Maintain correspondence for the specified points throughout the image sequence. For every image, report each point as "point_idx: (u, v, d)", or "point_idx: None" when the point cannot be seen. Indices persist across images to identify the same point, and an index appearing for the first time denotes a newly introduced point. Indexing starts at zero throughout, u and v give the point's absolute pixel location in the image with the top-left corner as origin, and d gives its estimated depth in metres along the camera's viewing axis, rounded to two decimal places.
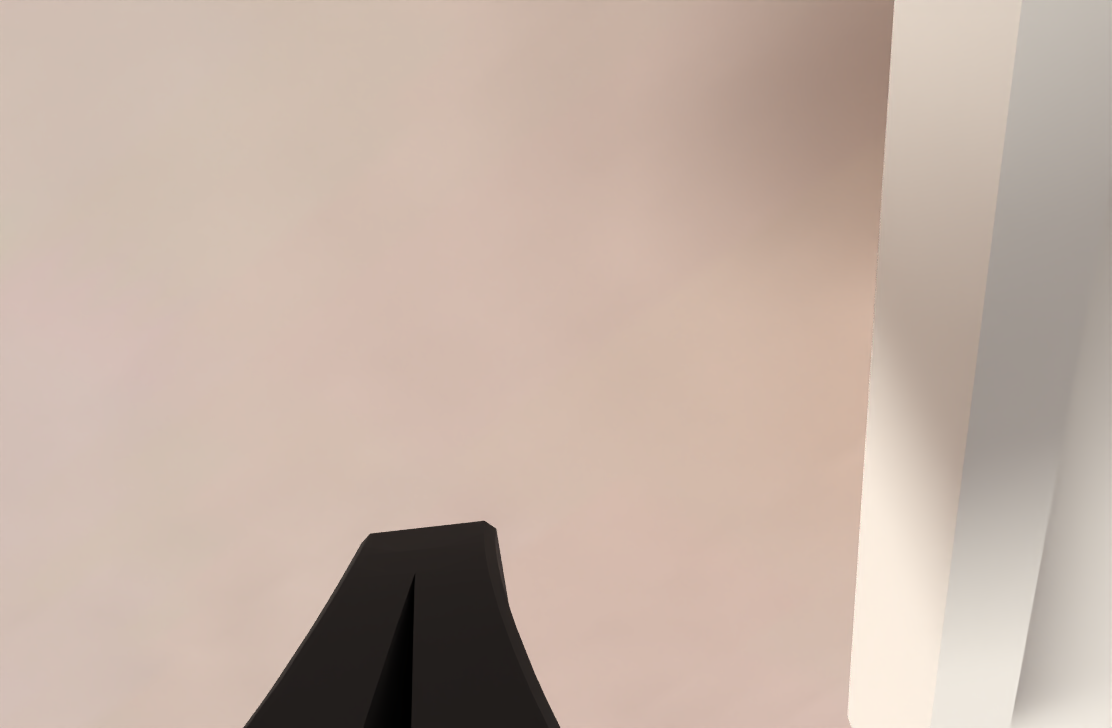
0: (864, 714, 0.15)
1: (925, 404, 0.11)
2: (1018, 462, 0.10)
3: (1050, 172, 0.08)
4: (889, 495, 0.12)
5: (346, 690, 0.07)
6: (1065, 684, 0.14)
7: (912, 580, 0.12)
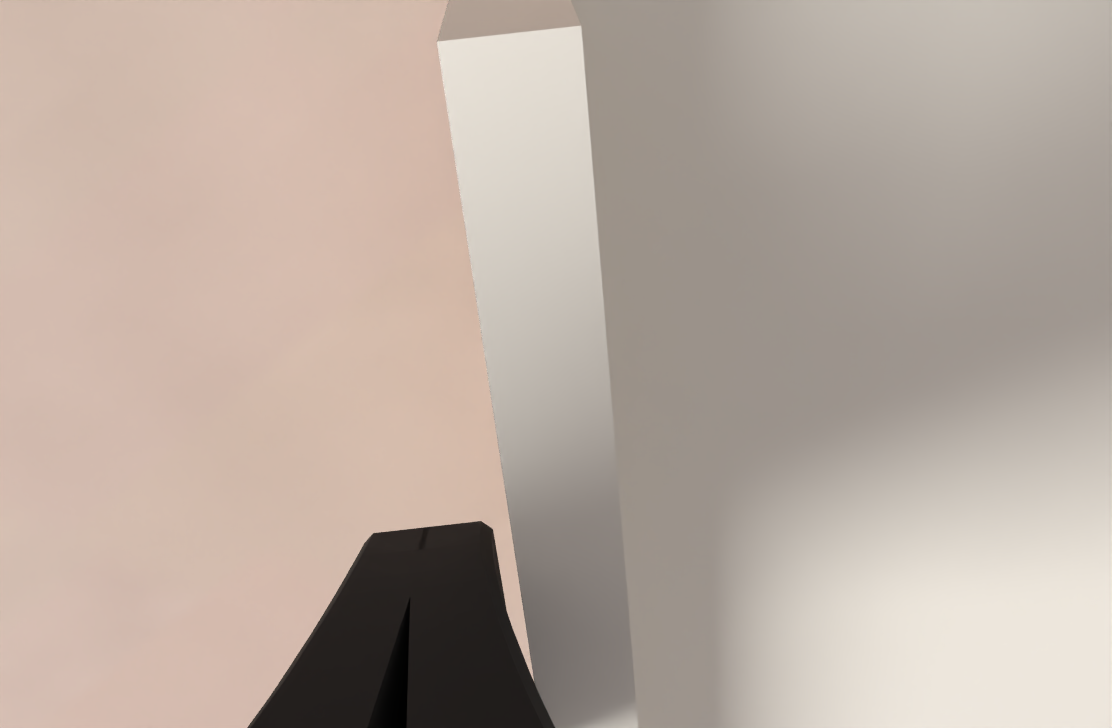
0: None
1: None
2: (579, 573, 0.09)
3: (530, 271, 0.08)
4: None
5: (350, 690, 0.07)
6: None
7: None
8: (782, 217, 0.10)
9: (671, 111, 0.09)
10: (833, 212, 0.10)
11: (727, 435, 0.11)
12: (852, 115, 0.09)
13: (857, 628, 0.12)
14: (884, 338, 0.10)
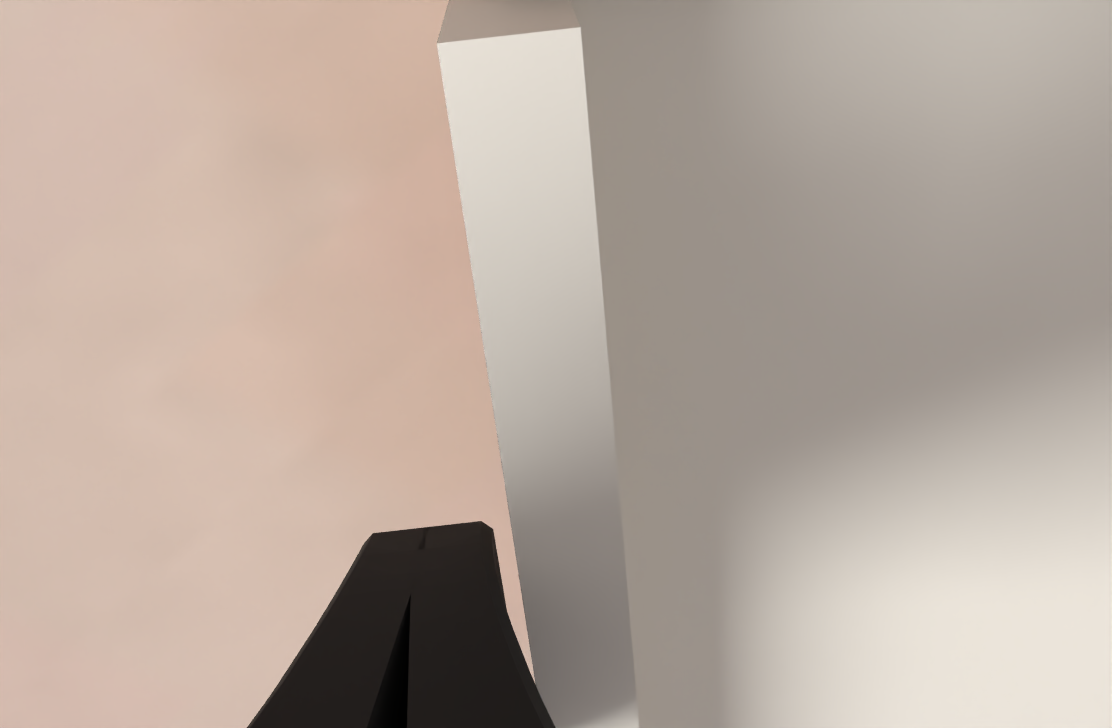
0: None
1: None
2: (579, 573, 0.09)
3: (529, 273, 0.08)
4: None
5: (349, 690, 0.07)
6: None
7: None
8: (782, 217, 0.10)
9: (671, 112, 0.09)
10: (833, 212, 0.10)
11: (727, 435, 0.11)
12: (851, 115, 0.09)
13: (858, 628, 0.12)
14: (884, 338, 0.10)
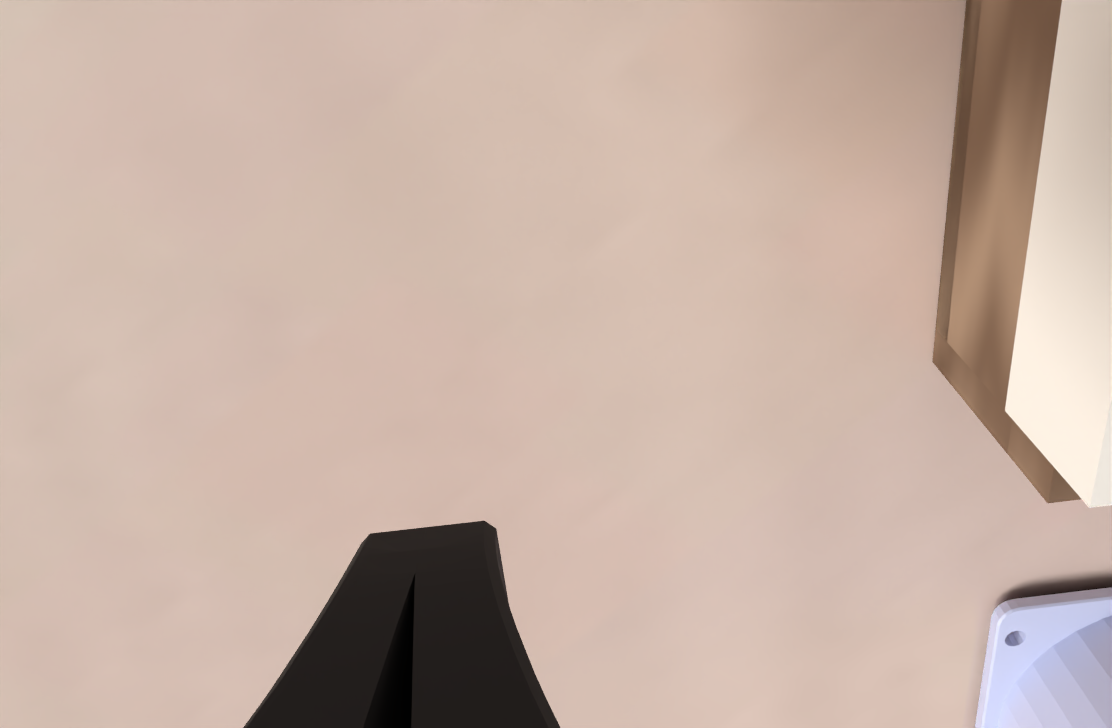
0: (1030, 388, 0.16)
1: None
2: None
3: None
4: (1079, 137, 0.14)
5: (346, 690, 0.07)
6: None
7: (1107, 199, 0.13)
8: None
9: None
10: None
11: None
12: None
13: None
14: None
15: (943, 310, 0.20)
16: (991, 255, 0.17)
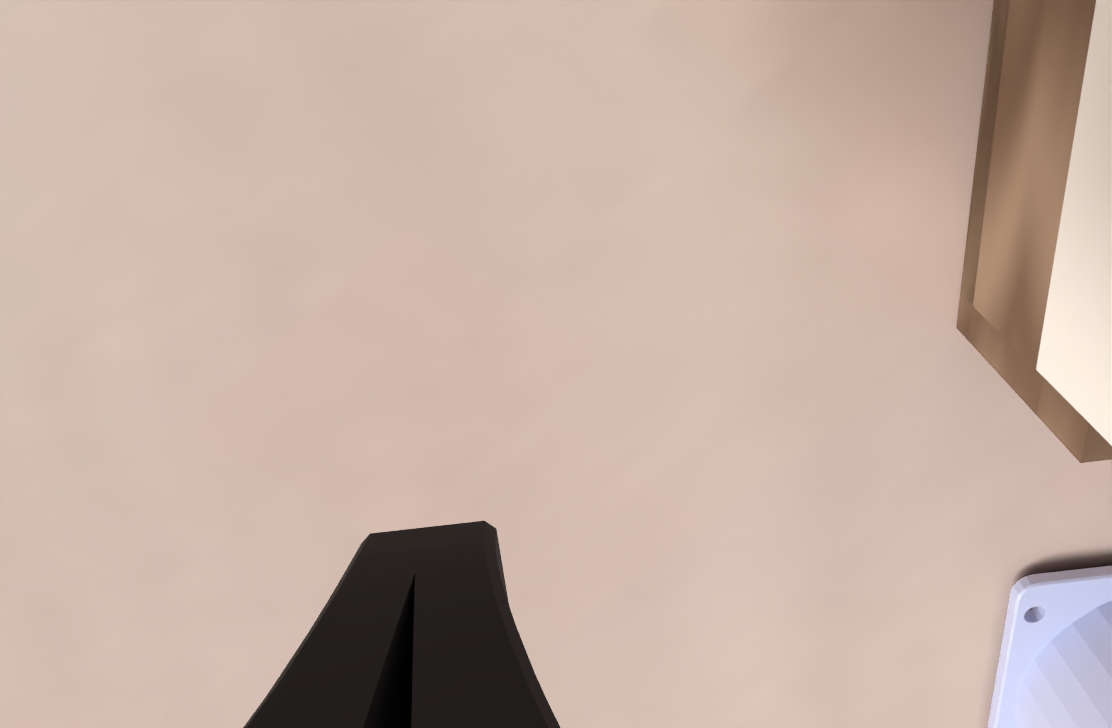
0: (1064, 344, 0.16)
1: None
2: None
3: None
4: None
5: (346, 690, 0.07)
6: None
7: None
8: None
9: None
10: None
11: None
12: None
13: None
14: None
15: (969, 274, 0.20)
16: (1022, 212, 0.17)
